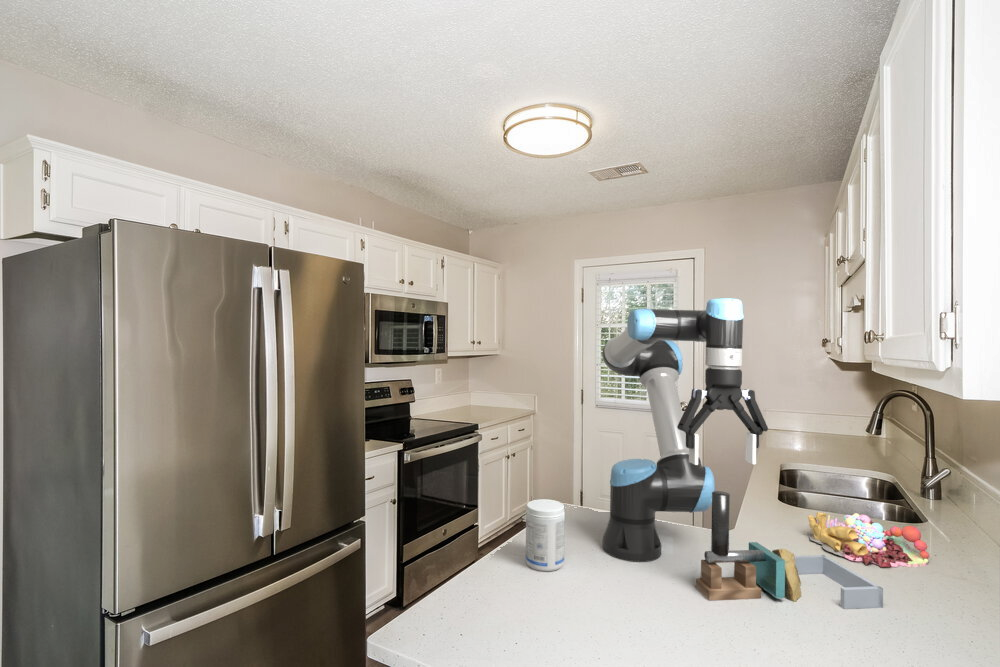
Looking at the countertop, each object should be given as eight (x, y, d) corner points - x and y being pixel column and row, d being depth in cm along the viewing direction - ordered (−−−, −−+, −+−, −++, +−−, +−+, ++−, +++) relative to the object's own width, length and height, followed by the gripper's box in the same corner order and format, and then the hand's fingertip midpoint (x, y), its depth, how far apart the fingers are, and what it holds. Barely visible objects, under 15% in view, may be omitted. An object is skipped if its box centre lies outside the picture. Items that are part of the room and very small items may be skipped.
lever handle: (718, 600, 109) (720, 500, 109) (695, 578, 118) (696, 487, 119) (784, 597, 110) (785, 499, 110) (756, 576, 120) (757, 486, 120)
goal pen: (844, 609, 108) (844, 589, 108) (789, 572, 125) (789, 555, 125) (882, 607, 109) (883, 588, 109) (823, 571, 126) (823, 555, 126)
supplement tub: (553, 554, 133) (554, 497, 133) (571, 569, 124) (572, 508, 124) (519, 558, 129) (520, 500, 130) (534, 575, 120) (535, 512, 121)
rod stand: (709, 600, 110) (709, 570, 110) (695, 587, 116) (695, 558, 116) (761, 598, 112) (761, 568, 112) (745, 585, 118) (745, 556, 118)
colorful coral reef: (866, 573, 126) (866, 535, 126) (791, 537, 149) (791, 505, 149) (945, 565, 132) (945, 529, 132) (861, 531, 155) (861, 501, 155)
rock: (784, 565, 124) (754, 565, 120) (805, 546, 119) (775, 545, 116) (813, 609, 115) (782, 610, 112) (837, 590, 111) (806, 590, 108)
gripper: (678, 367, 109) (677, 467, 109) (786, 369, 113) (785, 466, 112) (663, 366, 117) (661, 459, 117) (764, 367, 120) (763, 458, 120)
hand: (722, 463), depth 114 cm, fingers open, 13 cm apart
